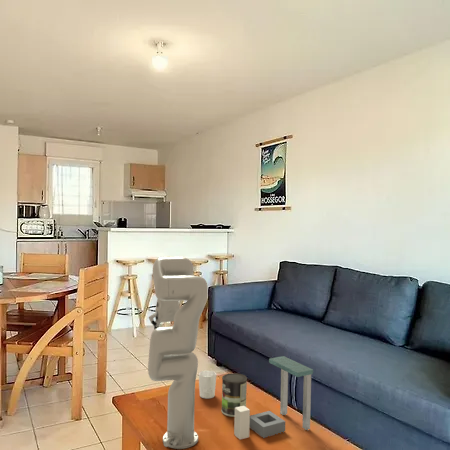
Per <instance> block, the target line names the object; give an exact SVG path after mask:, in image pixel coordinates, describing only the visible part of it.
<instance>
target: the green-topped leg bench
mask: <svg viewBox="0 0 450 450" xmlns="http://www.w3.org/2000/svg"><path fill="white" fill-rule="evenodd" d="M268 363H269V364H271V365H272V366H274V367H277V368H279V369H281V370H280V404H279V406H280V408H279V409H280V410H279V411H280V412H279V413H280V415H281V414H282V415H281V416H283V415H285V416H287V415H288V396H289V395H288V392H289V391H288V390H289V387H288V386H289V374H290V375H293V376H295V377H296V378H300V377H303V388H302V389H303V391H302V394H303V396H302V398H303V399H302V428H304V429H305V430H307V431H309V430H308V429H310V430H311V409H312V408H311V404H312V403H311V401H312V399H311V397H312V375H313V374H314V369H313V368H311V367H308V366H306V365H304V364H302V363H300V362H297V361H296V360H293V359H291V358H288V357H286V356H284V355H282V356H275V357H272V358H271V357H270V358H269V359H268ZM286 414H287V415H286ZM304 429H303V430H304ZM305 430H304V431H305Z"/></svg>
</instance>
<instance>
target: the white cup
mask: <svg viewBox="0 0 450 450" xmlns="http://www.w3.org/2000/svg"><path fill="white" fill-rule="evenodd" d="M216 384H217V372H215V370H208V369H207V370H201V371H200V372H198V389H199V397H200V398H202V399H213V398H214V397H215V393H216Z"/></svg>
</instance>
